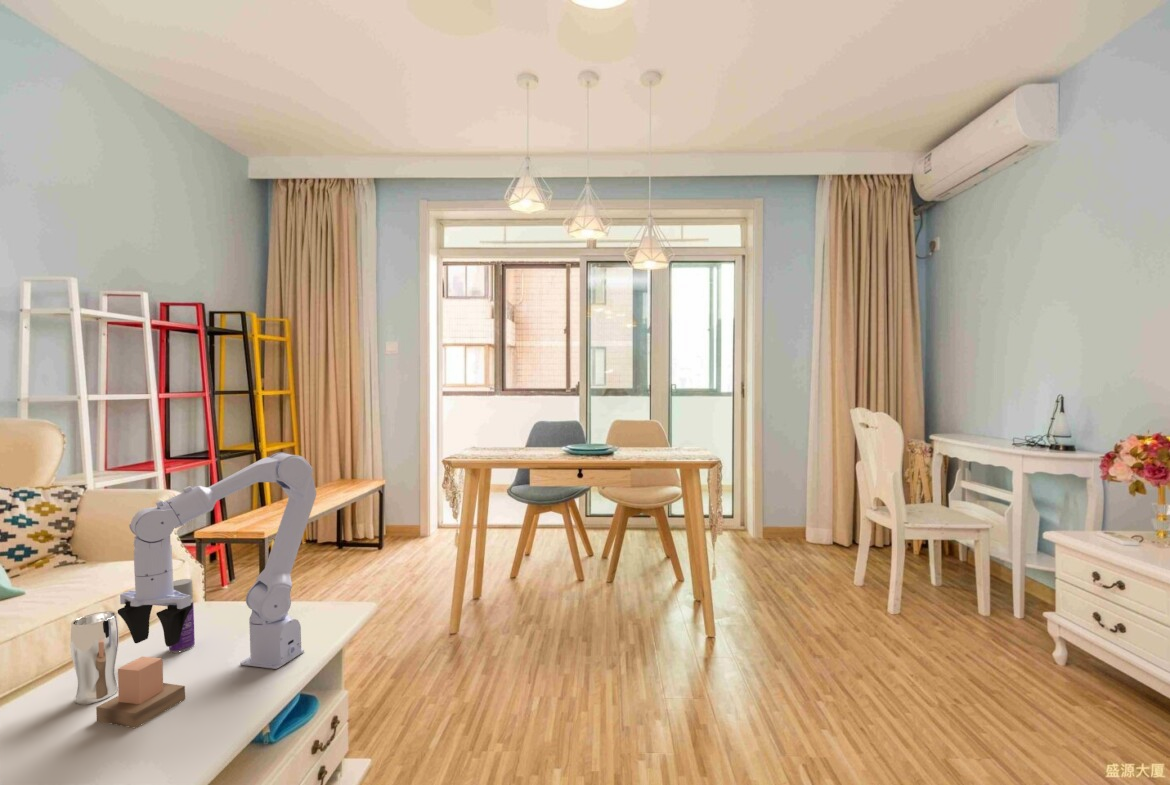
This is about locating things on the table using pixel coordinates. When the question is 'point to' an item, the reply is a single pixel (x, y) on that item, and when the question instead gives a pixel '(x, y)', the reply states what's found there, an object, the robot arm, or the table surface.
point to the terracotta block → (140, 680)
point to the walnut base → (140, 707)
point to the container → (188, 627)
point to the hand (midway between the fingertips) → (156, 642)
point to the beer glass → (95, 655)
